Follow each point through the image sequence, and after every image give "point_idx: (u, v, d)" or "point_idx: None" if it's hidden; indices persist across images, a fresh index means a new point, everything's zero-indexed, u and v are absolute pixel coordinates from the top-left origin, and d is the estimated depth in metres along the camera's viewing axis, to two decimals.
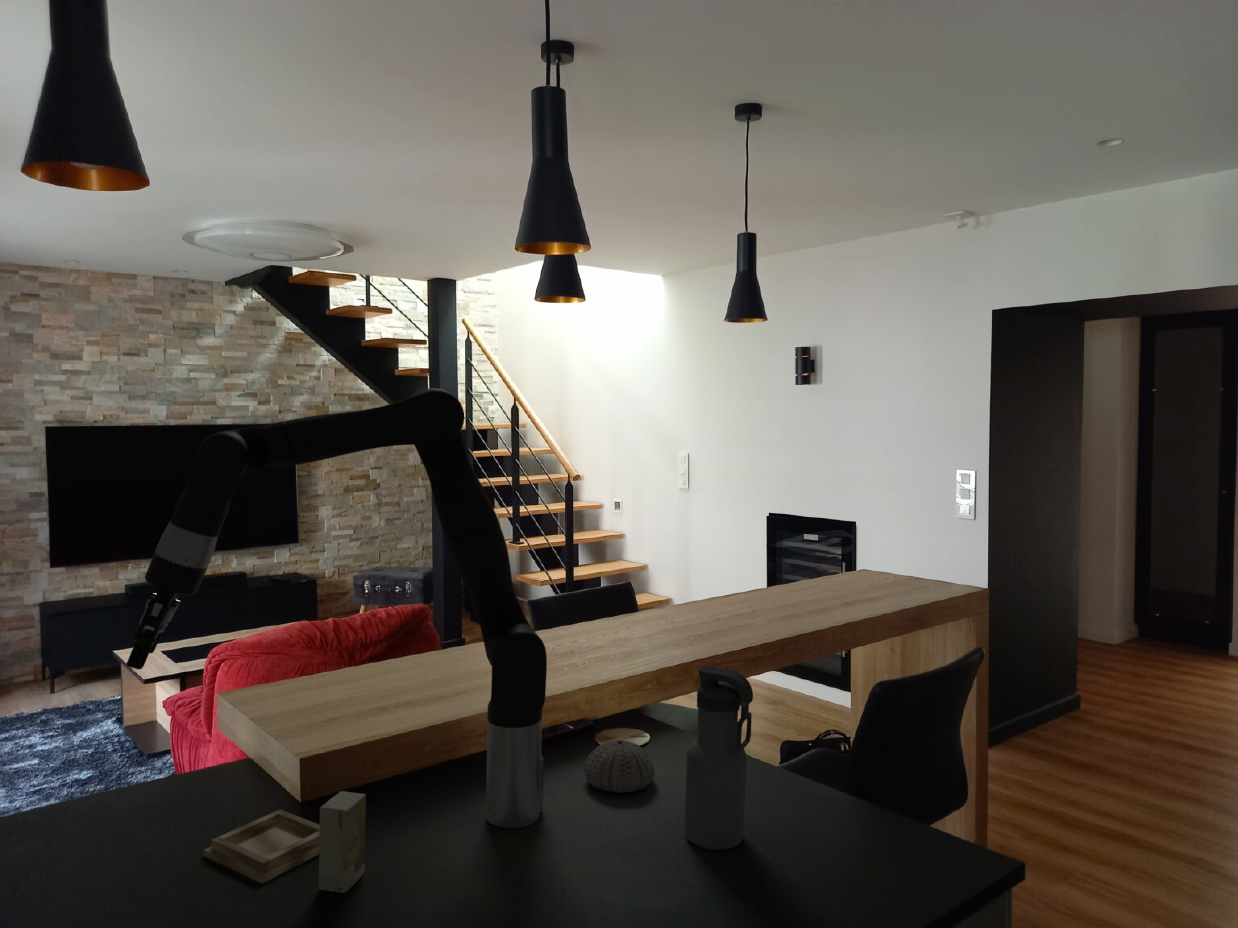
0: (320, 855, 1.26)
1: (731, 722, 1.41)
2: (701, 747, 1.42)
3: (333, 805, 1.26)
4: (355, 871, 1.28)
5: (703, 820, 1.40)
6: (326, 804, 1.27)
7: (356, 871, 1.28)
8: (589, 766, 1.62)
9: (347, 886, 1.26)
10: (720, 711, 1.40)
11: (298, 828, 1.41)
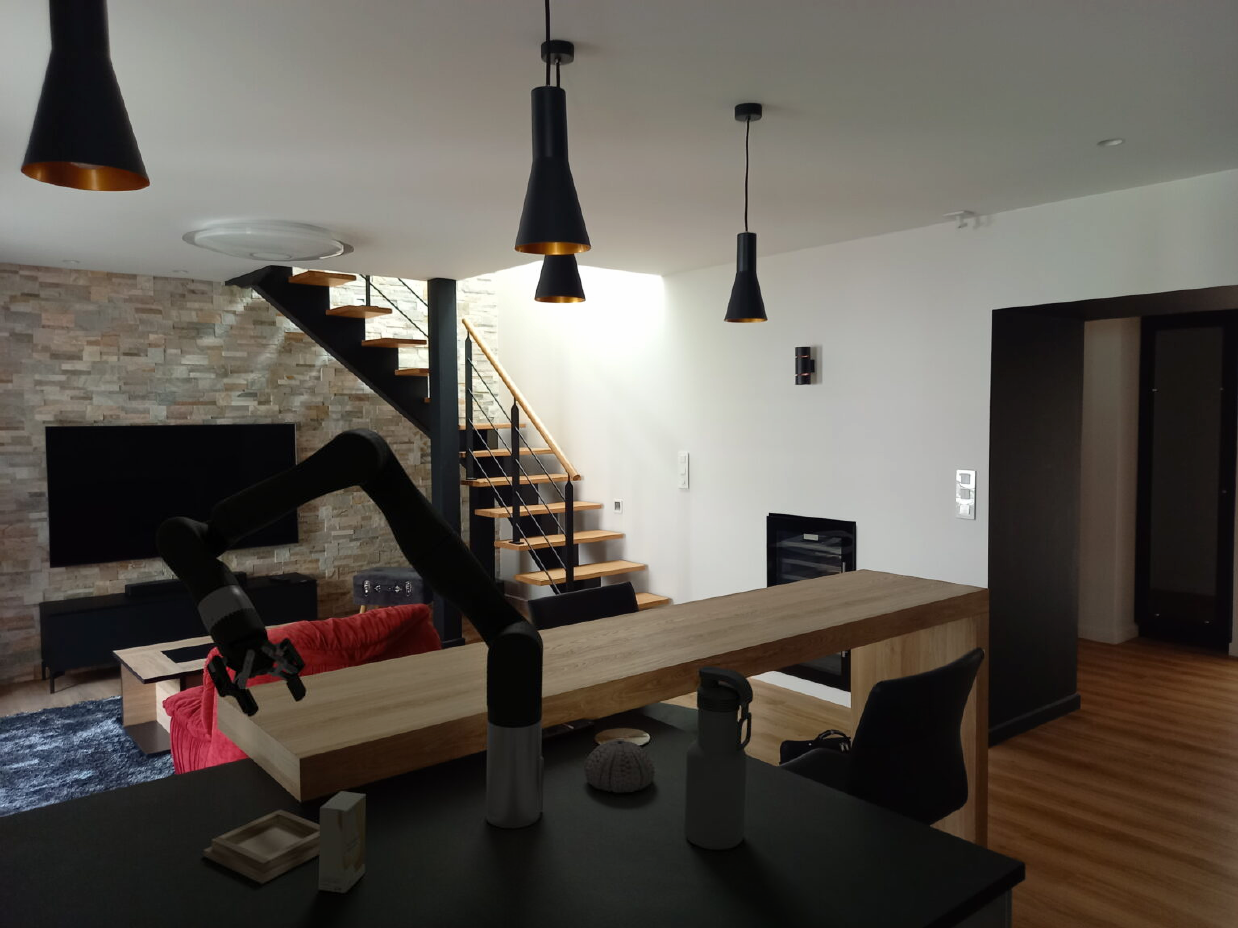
0: (320, 855, 1.26)
1: (731, 722, 1.41)
2: (701, 747, 1.42)
3: (333, 805, 1.26)
4: (355, 871, 1.28)
5: (703, 820, 1.40)
6: (326, 804, 1.27)
7: (356, 871, 1.28)
8: (589, 766, 1.62)
9: (347, 886, 1.26)
10: (720, 711, 1.40)
11: (298, 828, 1.41)
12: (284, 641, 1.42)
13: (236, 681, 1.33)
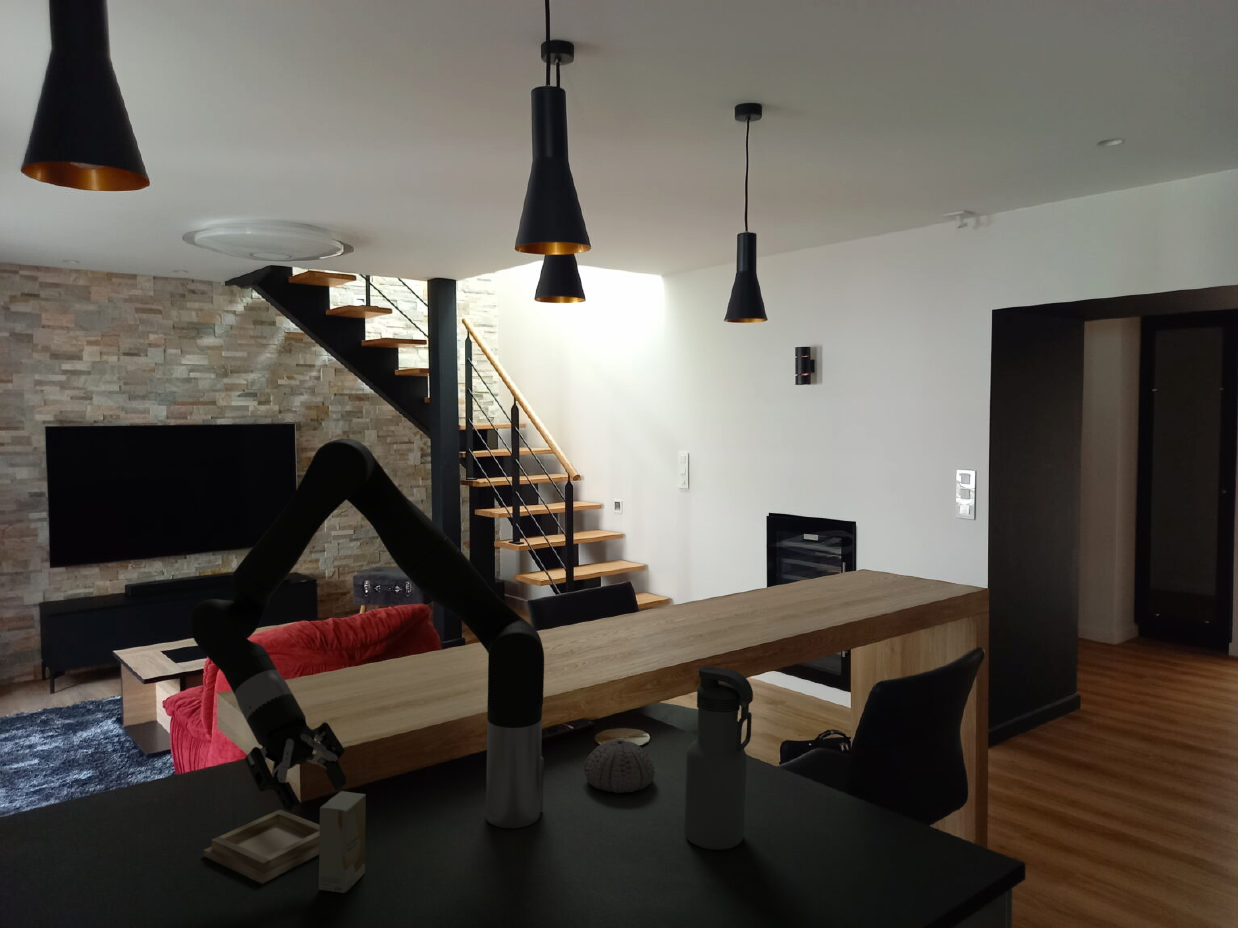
0: (320, 855, 1.26)
1: (731, 722, 1.41)
2: (701, 747, 1.42)
3: (333, 805, 1.26)
4: (355, 871, 1.28)
5: (703, 820, 1.40)
6: (326, 804, 1.27)
7: (356, 871, 1.28)
8: (589, 766, 1.62)
9: (347, 886, 1.26)
10: (720, 711, 1.40)
11: (298, 828, 1.41)
12: (322, 726, 1.38)
13: (275, 773, 1.30)
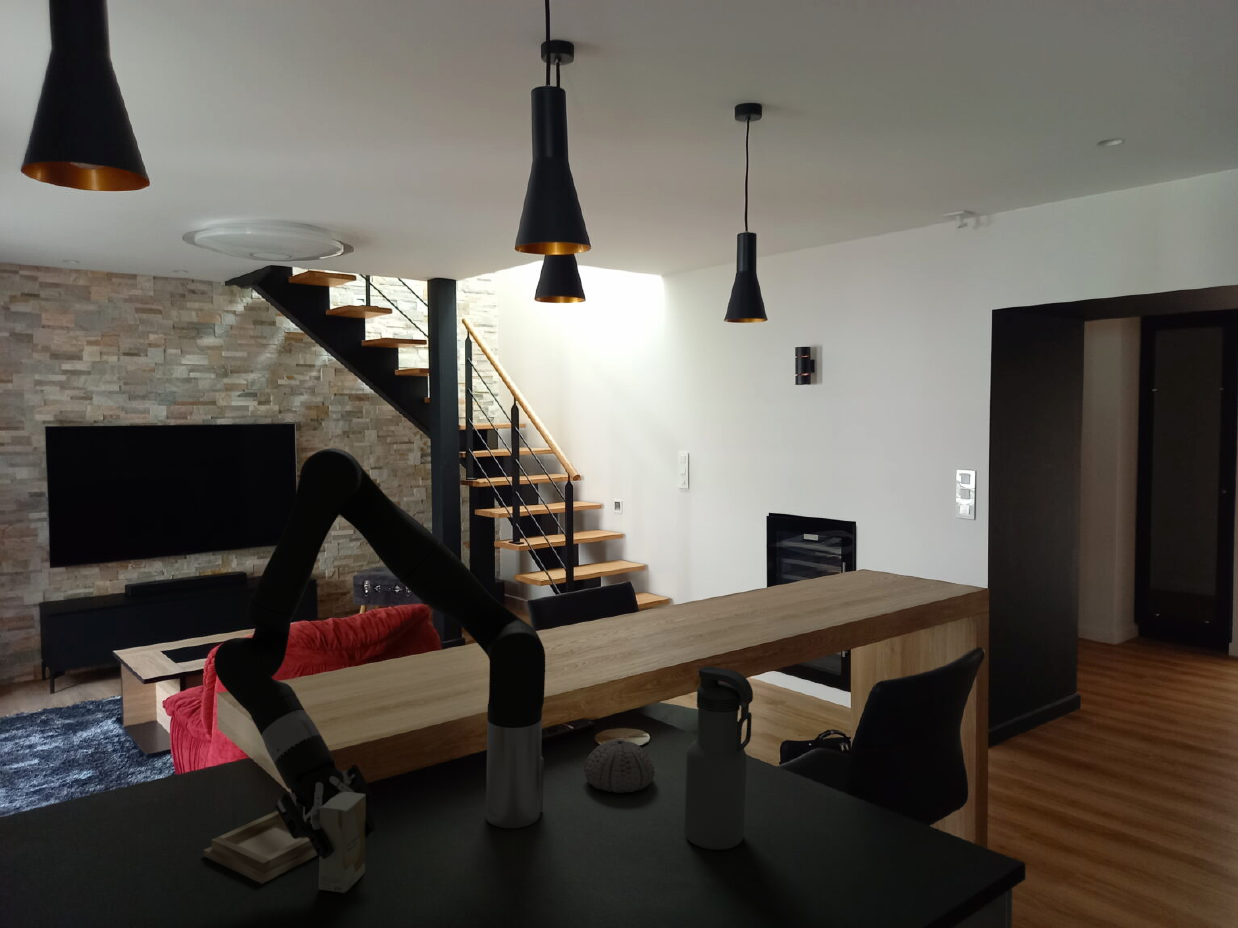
0: None
1: (731, 722, 1.41)
2: (701, 747, 1.42)
3: (333, 805, 1.26)
4: (355, 871, 1.28)
5: (703, 820, 1.40)
6: (326, 804, 1.27)
7: (356, 871, 1.28)
8: (589, 766, 1.62)
9: (347, 886, 1.26)
10: (720, 711, 1.40)
11: None
12: (352, 768, 1.35)
13: (307, 819, 1.27)
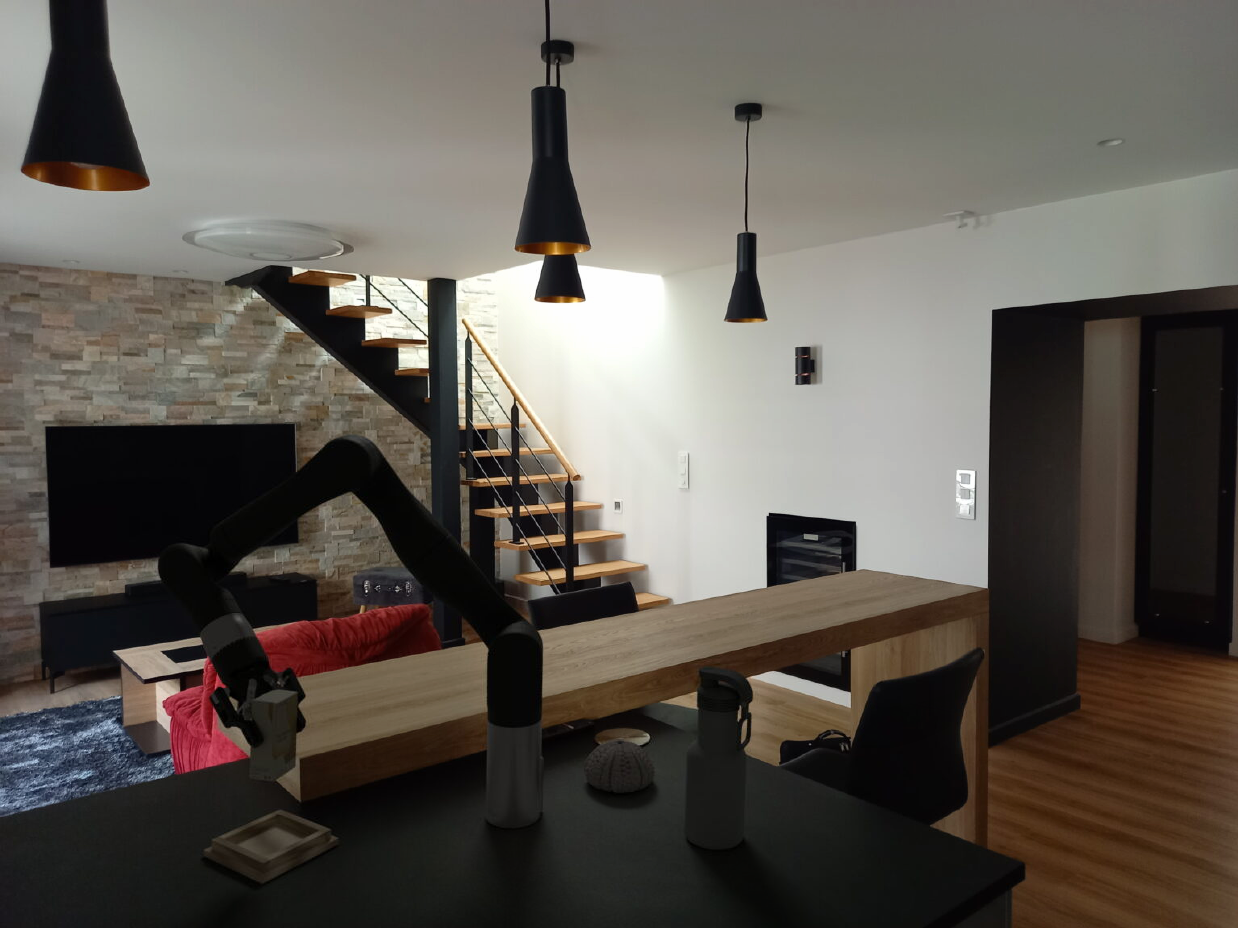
0: (251, 745, 1.33)
1: (731, 722, 1.41)
2: (701, 747, 1.42)
3: (265, 699, 1.33)
4: (285, 763, 1.35)
5: (703, 820, 1.40)
6: (258, 698, 1.33)
7: (286, 763, 1.35)
8: (589, 766, 1.62)
9: (276, 776, 1.33)
10: (720, 711, 1.40)
11: (298, 828, 1.41)
12: (286, 670, 1.42)
13: (240, 712, 1.33)
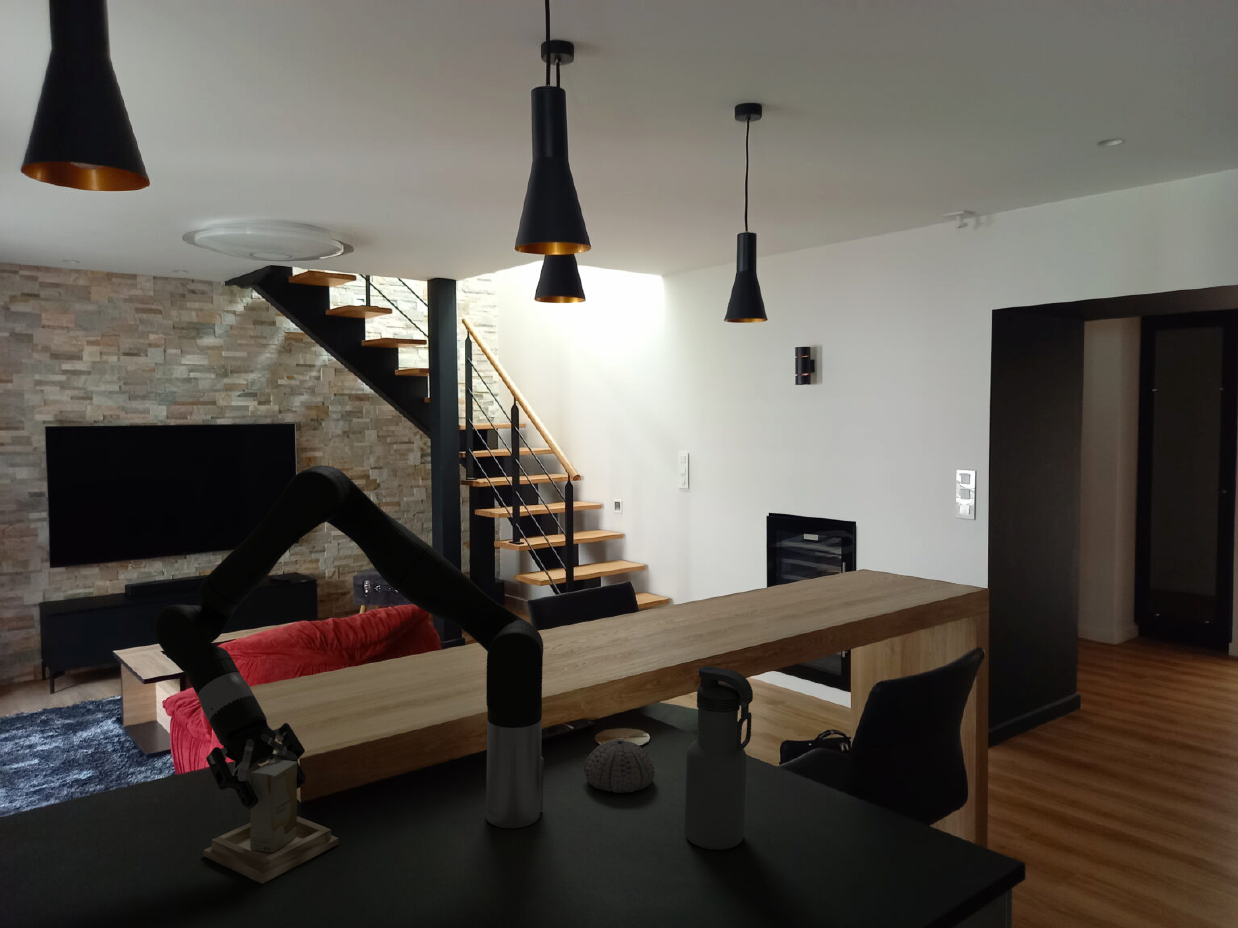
0: (251, 817, 1.35)
1: (731, 722, 1.41)
2: (701, 747, 1.42)
3: (264, 771, 1.35)
4: (284, 833, 1.36)
5: (703, 820, 1.40)
6: (257, 769, 1.35)
7: (286, 833, 1.37)
8: (589, 766, 1.62)
9: (275, 847, 1.34)
10: (720, 711, 1.40)
11: (298, 828, 1.41)
12: (283, 726, 1.43)
13: (236, 772, 1.35)
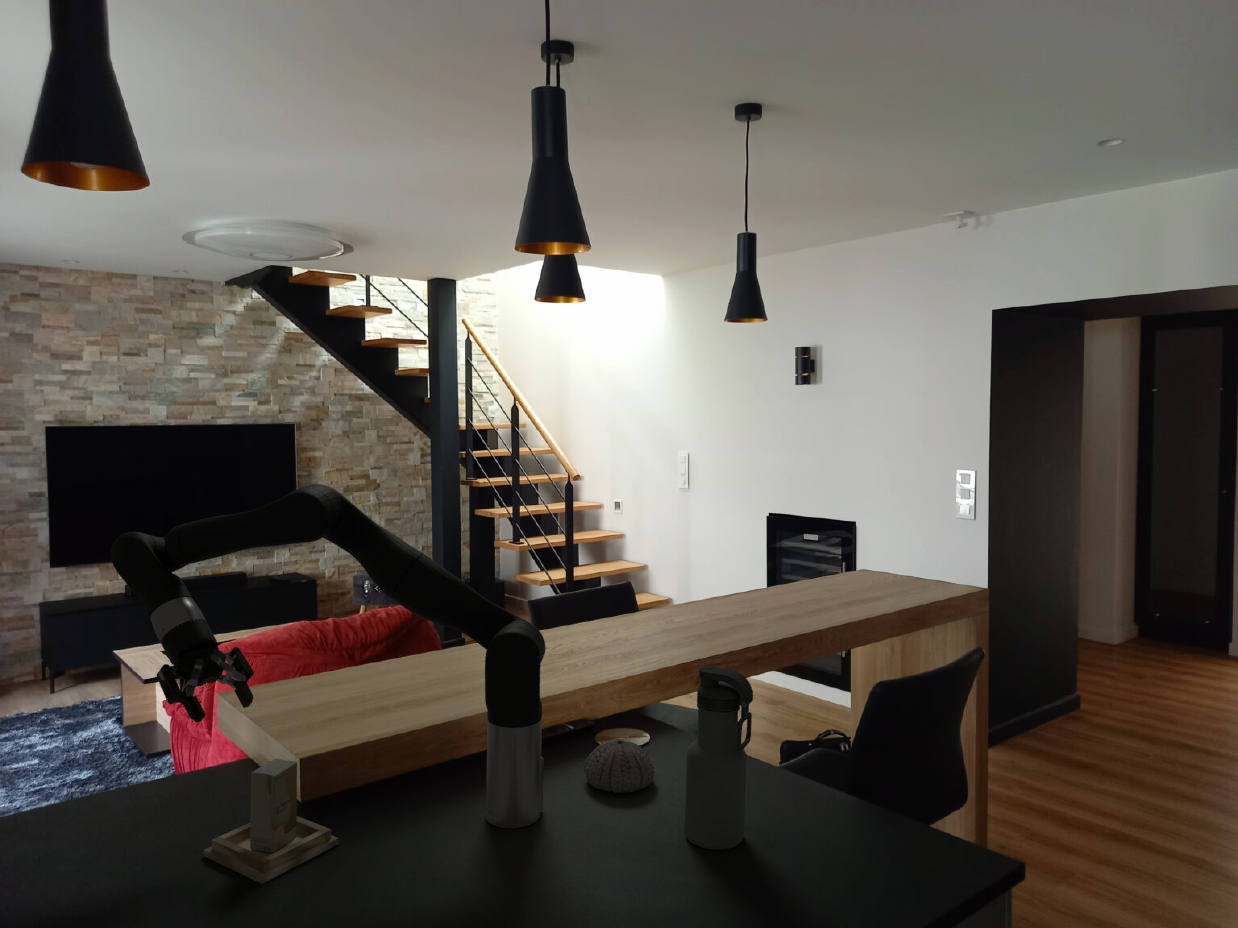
0: (251, 817, 1.35)
1: (731, 722, 1.41)
2: (701, 747, 1.42)
3: (264, 771, 1.35)
4: (284, 833, 1.36)
5: (703, 820, 1.40)
6: (257, 770, 1.35)
7: (286, 833, 1.37)
8: (589, 766, 1.62)
9: (275, 847, 1.34)
10: (720, 711, 1.40)
11: (298, 828, 1.41)
12: (233, 650, 1.49)
13: (185, 688, 1.41)
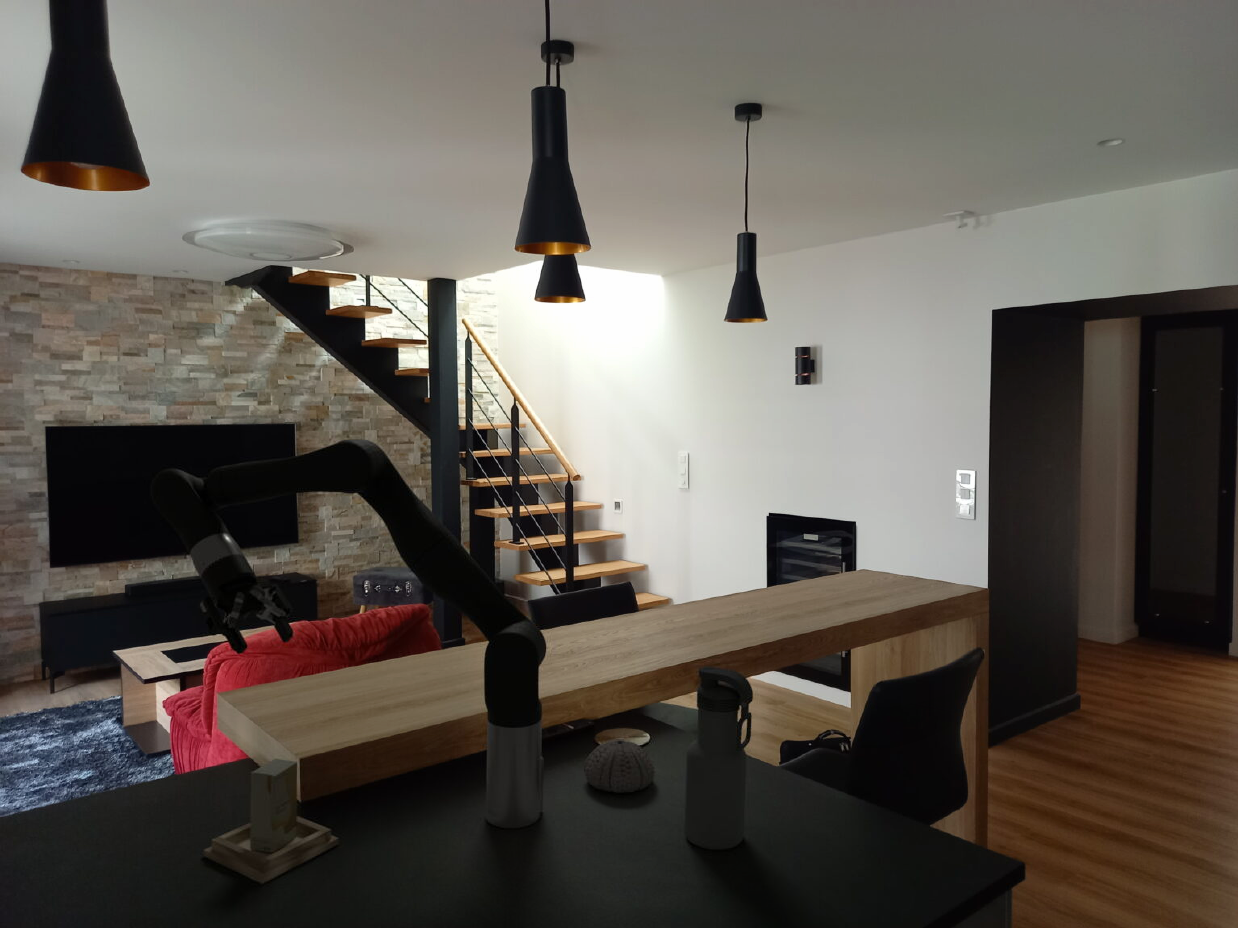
0: (251, 817, 1.35)
1: (731, 722, 1.41)
2: (701, 747, 1.42)
3: (264, 771, 1.35)
4: (284, 833, 1.36)
5: (703, 820, 1.40)
6: (257, 770, 1.35)
7: (286, 833, 1.37)
8: (589, 766, 1.62)
9: (275, 847, 1.34)
10: (720, 711, 1.40)
11: (298, 828, 1.41)
12: (272, 587, 1.50)
13: (226, 621, 1.41)
